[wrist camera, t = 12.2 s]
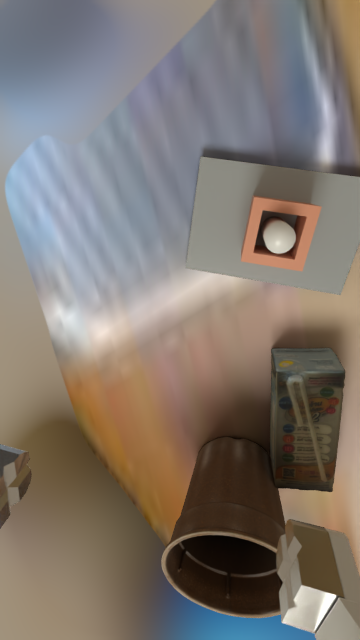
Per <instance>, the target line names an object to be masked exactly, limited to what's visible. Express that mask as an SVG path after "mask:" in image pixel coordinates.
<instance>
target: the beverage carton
mask: <svg viewBox="0 0 360 640" xmlns="http://www.w3.org/2000/svg"><path fill="white" fill-rule="evenodd" d="M271 353H272V355H271V364H272V371H271V407H270V455H271V463H272V470H273V478H274V484H275V487H276V488H290V489H299V490H318V491H328V492H332V491H333V488H332V487H333V483H334V474H335V467H336V458H337V448H338V439H339V430H340V420H341V410H342V399H343V388H344V380H345V370H344V368H343V367H342V365H341V363H340V361H339V359H338V358H337V355H336V354H335V353H334V352H333V351H332V349H331V348H274V349H272V350H271Z"/></svg>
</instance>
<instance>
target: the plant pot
mask: <svg viewBox="0 0 360 640" xmlns="http://www.w3.org/2000/svg"><path fill="white" fill-rule="evenodd" d="M284 534H286V533H285V521H284V516H283V511H282V506H281V501H280V496H279V491H278V488H276V487H275V484H274V478H273V470H272V463H271V457H270V456H269V455H268V453H267V452H266V451H265V450H264V449H263V448H261V447H260V446H259V445H257V444H256V443H254V442H252V441H249V440H247V439H243V438H242V439H239V440H238V439H233V438H231V437H222V438H218V439H215V440H212V441H210V442H209V443H207V444H206V445H205V446H203V447H202V449H201V450H200V452H199V454H198V456H197V460H196V464H195V468H194V471H193V475H192V478H191V482H190V485H189V489H188V492H187V495H186V499H185V502H184V506H183V509H182V512H181V516H180V517H179V519H178V520H177V522H176V525H175V528H174V531H173V535H172V538H171V541H170V543H169V544H168V545H167V546H166V548H165V550H164V552H163V555H162V569H163V572H164V574H165V576H166V578H167V579H168V581H169V582H170V583H171V585H172V586H173V587H174V588H175V589H176V590H177V591H178V592H180V593H181V594H182V595H183V596H185V597H187V598H188V599H190V600H191V601H193V602H195V603H197V604H199V605H201V606H203V607H205V608H208V609H211V610H213V611H216V612H218V613H222V614H226V615H231V616H237V617H246V618H263V617H271V616H276V615H279V614H281V609H280V599H279V591H280V589H281V586H282V584H283V582H282V580H281V579H280V577H279V575H278V574H277V563H276V553H277V546H278V542H279V539H280V536H282V535H284Z"/></svg>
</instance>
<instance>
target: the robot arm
mask: <svg viewBox="0 0 360 640" xmlns="http://www.w3.org/2000/svg"><path fill="white" fill-rule="evenodd" d="M29 460H30V458H29V452H26V451H22V450H19V449H15V448H11V447H8V446H4V445H1V444H0V528H1V527H2V526H3V524H4V523H5V521H6V520H7V519H8V517H9V516H10V507H11V506H12V505H14V504H16V503H17V502H19V501H20V500H21V499H22V497H23V496H24V494H25V493H26V491H27V489H28V486H29V484H30V481H31V469H30V468H29V466H28V465H27V463H28V461H29ZM285 533H286V534H284V535H282V536H280V539H279V542H278V546H277V553H276V563H277V574H278V575H279V577H280V579H281V580H282V582H283V584H282V586H281V589H280V591H279V599H280V609H281V619H282V623H285V624H287V625H291V626H294V627H297V628H300V629H303V630H306V631H309V632H312V633H315V637H316V639H317V640H360V577H359V573H358V570H357V567H356V563H355V560H354V557H353V553H352V550H351V547H350V544H349V540H348V538H347V536H346V535H345V534H344V533H342V532H338V531H334V530H330V529H325V528H324V527H320V526H316V525H312V524H308V523H304V522H300V521H295V520H291V519H289V520H288V521H287V522H286V525H285Z"/></svg>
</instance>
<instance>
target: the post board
mask: <svg viewBox="0 0 360 640" xmlns="http://www.w3.org/2000/svg"><path fill="white" fill-rule="evenodd" d="M253 195H254V196H261V197H268V198H275V199H282V200H289V201H296V202H304V203H311V204H314V205H318V206H321V207H322V208H321V211H320V214H319V218H318V221H317V224H316V228H315V231H314V234H313V238H312V241H311V244H310V248H309V251H308V254H307V258H306V261H305V264H304V268H303V271H296V270H290V269H284V268H278V267H272V266H266V265H260V264H254V263H248V262H242V261H241V250H242V245H243V240H244V235H245V231H246V226H247V221H248V216H249V211H250V207H251V202H252V197H253ZM296 219H297V215H292V214H286V213H279V212H272V211H265V210H263V211H262V215H261V220H260V224H259V229H258V233H257V238H256V242H255V245H260V246H267V248H268V249H269V250H270V251H271V252H273V253H277V254H281V253H285V252H287V251H289V250H290V249H291V248H292V247H293V245H294V243H295V240H296V234H295V231H294V226H295V222H296ZM359 243H360V177H355V176H347V175H340V174H332V173H324V172H316V171H309V170H301V169H293V168H285V167H278V166H270V165H262V164H254V163H247V162H239V161H231V160H223V159H216V158H208V157H201V158H200V165H199V173H198V180H197V188H196V195H195V202H194V210H193V217H192V224H191V232H190V239H189V247H188V254H187V261H186V268H187V269H193V270H199V271H205V272H210V273H216V274H222V275H228V276H234V277H239V278H245V279H251V280H257V281H262V282H268V283H274V284H280V285H285V286H291V287H297V288H303V289H308V290H314V291H320V292H326V293H332V294H337V295H341V292H342V289H343V286H344V284H345V281H346V278H347V275H348V273H349V270H350V267H351V264H352V262H353V259H354V256H355V253H356V251H357V248H358V245H359Z"/></svg>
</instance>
